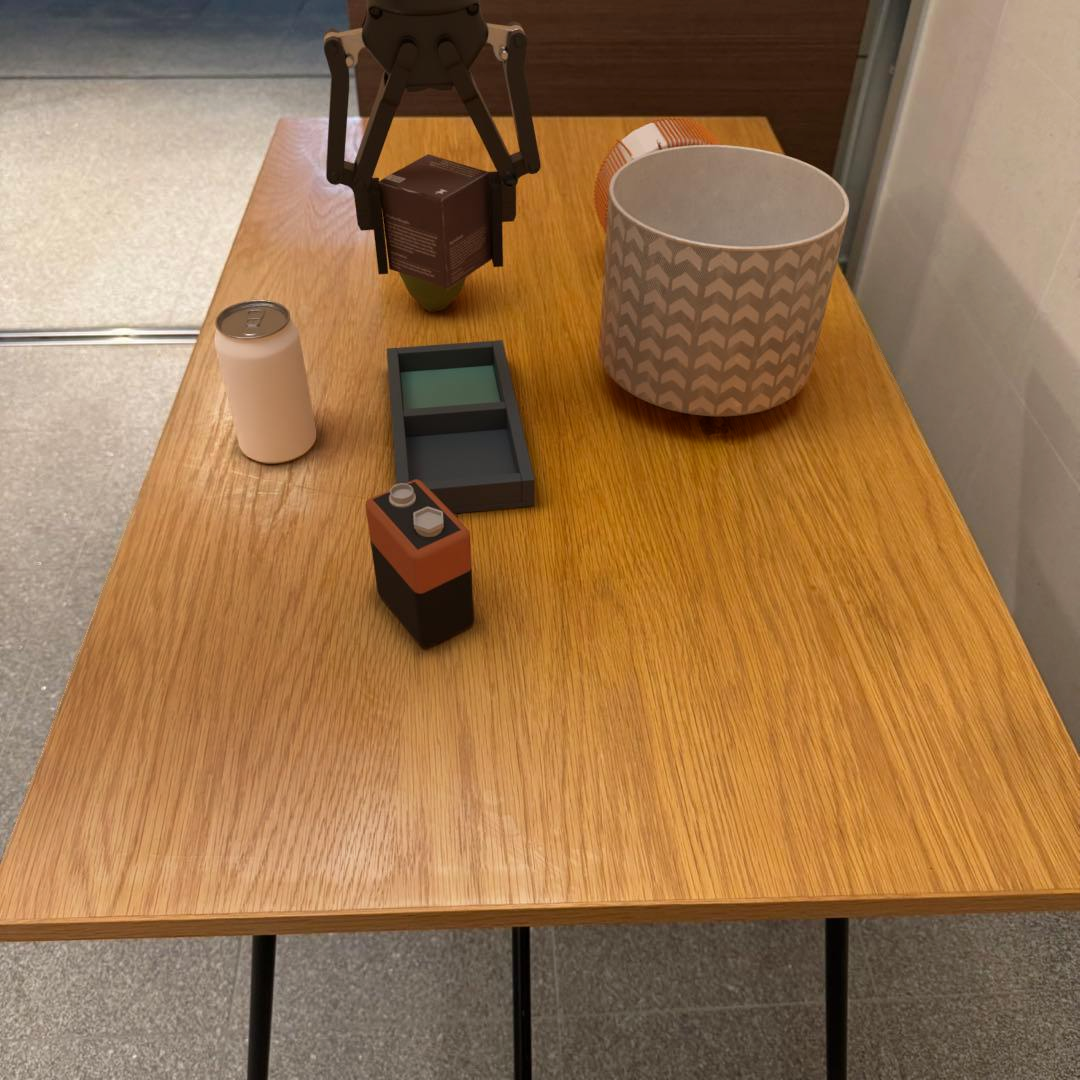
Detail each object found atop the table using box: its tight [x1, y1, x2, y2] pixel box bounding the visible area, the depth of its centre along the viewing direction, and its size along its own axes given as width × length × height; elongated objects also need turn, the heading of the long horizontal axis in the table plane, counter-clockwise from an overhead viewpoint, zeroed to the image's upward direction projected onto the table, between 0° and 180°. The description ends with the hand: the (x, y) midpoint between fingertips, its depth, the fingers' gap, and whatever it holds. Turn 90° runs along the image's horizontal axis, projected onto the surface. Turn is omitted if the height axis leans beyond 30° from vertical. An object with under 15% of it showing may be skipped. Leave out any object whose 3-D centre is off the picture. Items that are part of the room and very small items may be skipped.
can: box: [213, 299, 317, 465], centre depth 81 cm, size 6×6×12 cm
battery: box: [364, 479, 475, 649], centre depth 67 cm, size 4×7×10 cm, turn 36°
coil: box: [593, 116, 723, 234], centre depth 103 cm, size 7×15×15 cm, turn 100°
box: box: [379, 154, 492, 289], centre depth 76 cm, size 6×6×7 cm
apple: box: [398, 272, 467, 313], centre depth 98 cm, size 9×8×12 cm
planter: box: [598, 144, 850, 417], centre depth 86 cm, size 19×19×18 cm
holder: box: [386, 339, 536, 515], centre depth 85 cm, size 11×20×3 cm, turn 9°
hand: (439, 261), depth 79 cm, fingers closed on box, 8 cm apart
